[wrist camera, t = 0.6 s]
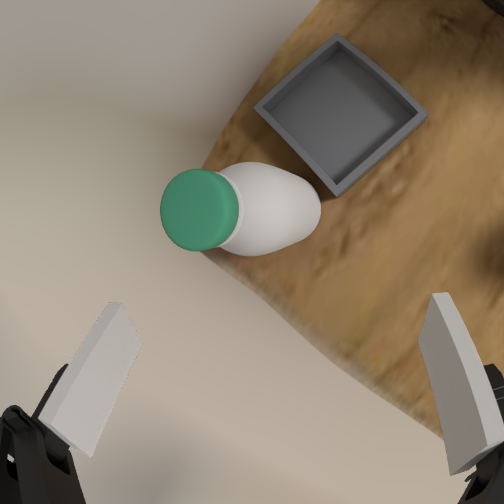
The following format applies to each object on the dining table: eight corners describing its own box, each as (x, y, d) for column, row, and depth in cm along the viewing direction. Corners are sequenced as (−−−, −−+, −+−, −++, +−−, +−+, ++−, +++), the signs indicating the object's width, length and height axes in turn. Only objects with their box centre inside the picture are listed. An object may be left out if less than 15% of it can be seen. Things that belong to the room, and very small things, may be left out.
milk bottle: (322, 175, 32) (257, 133, 14) (320, 244, 34) (254, 288, 15) (258, 175, 35) (139, 148, 17) (256, 240, 36) (139, 272, 18)
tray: (340, 45, 29) (336, 32, 26) (424, 121, 27) (428, 114, 24) (261, 114, 34) (252, 107, 31) (339, 197, 32) (335, 196, 29)
